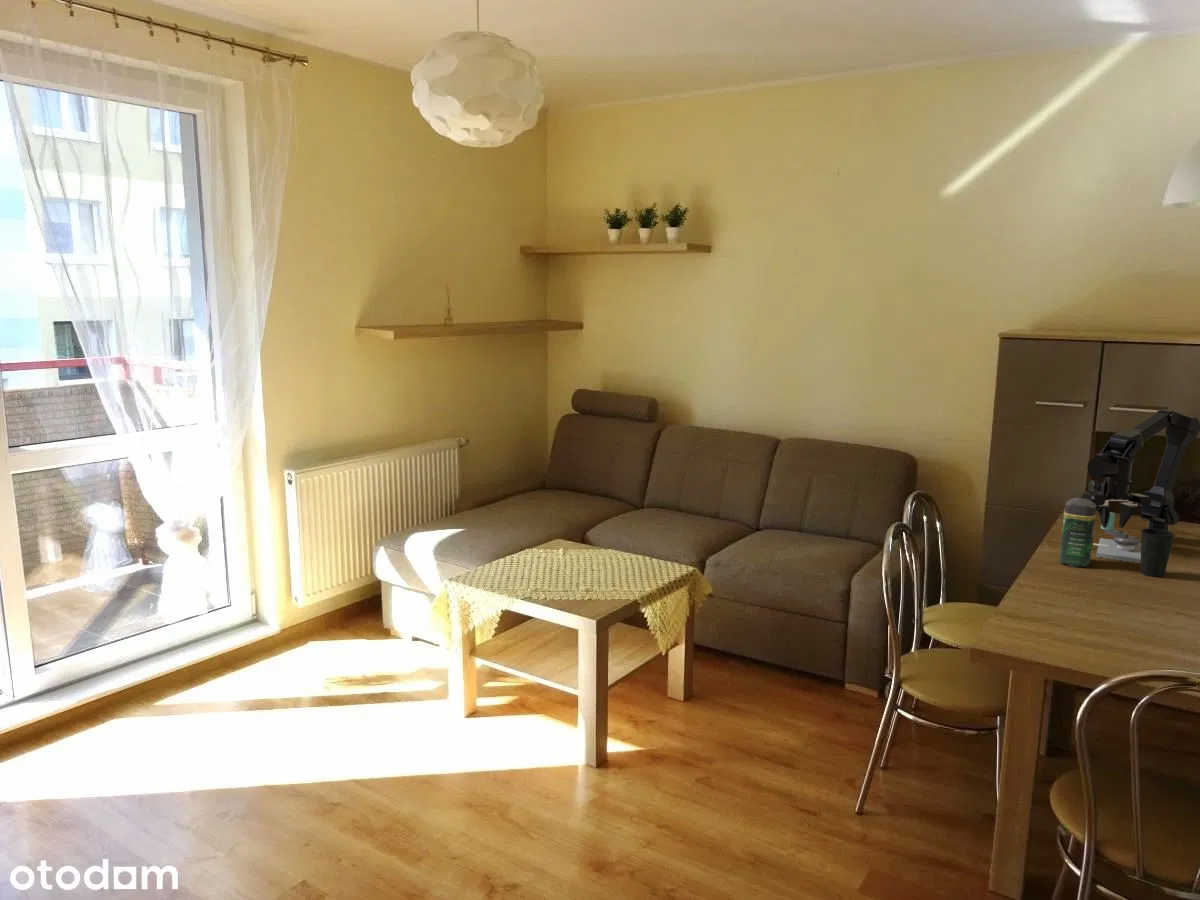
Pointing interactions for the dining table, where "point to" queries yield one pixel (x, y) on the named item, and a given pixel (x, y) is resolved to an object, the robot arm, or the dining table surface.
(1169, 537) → the cup
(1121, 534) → the handle
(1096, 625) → the dining table surface
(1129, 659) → the dining table surface
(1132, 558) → the base
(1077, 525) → the coffee jar
